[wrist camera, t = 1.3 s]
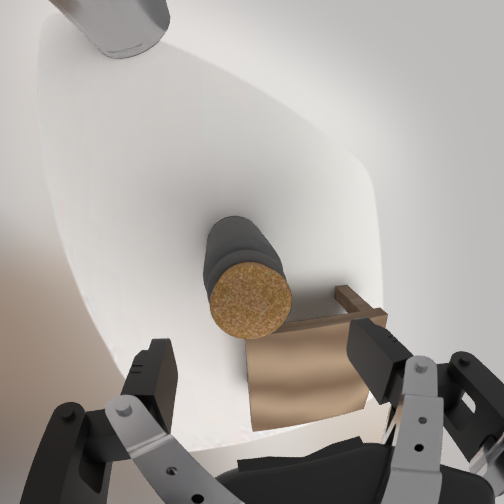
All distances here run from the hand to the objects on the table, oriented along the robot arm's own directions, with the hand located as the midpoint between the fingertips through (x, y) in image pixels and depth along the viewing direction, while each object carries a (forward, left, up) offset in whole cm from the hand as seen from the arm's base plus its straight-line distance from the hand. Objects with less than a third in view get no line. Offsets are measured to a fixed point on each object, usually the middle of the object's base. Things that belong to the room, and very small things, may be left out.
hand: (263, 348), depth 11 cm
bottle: (0, 0, -19) cm, 19 cm away
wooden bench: (+13, +7, -19) cm, 24 cm away
